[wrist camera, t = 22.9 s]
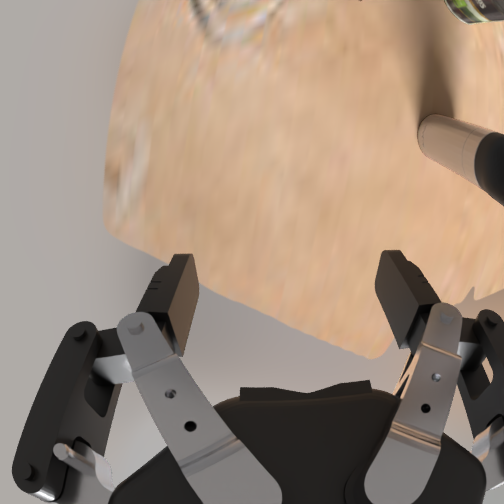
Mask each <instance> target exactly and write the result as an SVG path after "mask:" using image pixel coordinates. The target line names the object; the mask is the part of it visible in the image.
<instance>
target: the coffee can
mask: <svg viewBox="0 0 504 504" xmlns="http://www.w3.org/2000/svg"><path fill="white" fill-rule="evenodd" d="M444 1H445V3H446V5H447V7H448V8H449V10H450V11H451V12H452V13H453V15H454V16H455V17H456V18H458V19H459V20H460V21H462V22H464V23H466V24H469V25H472V24H477V23H487V22H499V21H504V0H444Z"/></svg>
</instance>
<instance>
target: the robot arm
mask: <svg viewBox="0 0 504 504" xmlns="http://www.w3.org/2000/svg"><path fill="white" fill-rule="evenodd" d="M418 142H419V146H420V149H421V150H422V152H423V153H424V154H425V156H427V157H428V158H429V159H431V160H433V161H435V162H437V163H439V164H440V165H442V166H444V167H446V168H448V169H449V170H451V171H453V172H455V173H456V174H458V175H460V176H461V177H463V178H465V179H466V180H468V181H470V182H471V183H473V184H475V185H476V186H478V187H479V188H481V189H482V190H484V191H485V192H487V193H488V194H489V195H490V196H491V197H492V198H493V199H495V200H496V201H498V202H499V203H500V204H501V205H503V206H504V135H503V134H501V133H498V132H495V131H492V130H490V129H487V128H483V127H480V126H477V125H474V124H471V123H468V122H464V121H461V120H457V119H454V118H450V117H446V116H442V115H438V114H432V115H429V116H428V117H426V118H425V119H424V120H423V121H422V123H421V124H420V127H419V130H418ZM375 291H376V294H377V297H378V299H379V301H380V303H381V306H382V308H383V310H384V312H385V315H386V317H387V319H388V322H389V324H390V327H391V329H392V332H393V334H394V336H395V339H396V341H397V344H398V347H399V349H404V348H410V350H411V352H410V354H409V356H408V358H407V361H406V363H405V366H404V368H403V371H402V373H401V376H400V378H399V380H398V383H397V385H396V387H395V389H394V391H393V393H392V394H390V393H388V392H385V391H381V390H377V389H372V388H371V384H370V380H365V381H358V382H349V383H340V384H337V385H334V386H331V387H328V388H325V389H321V390H318V391H315V392H311V393H301V392H296V391H289V390H284V389H279V388H274V387H268V388H267V387H266V388H249V387H248V388H247V387H241V388H240V396H238V397H234V398H231V399H227V400H225V401H222V402H220V403H218V404H216V405H214V406H213V407H212V405H211V404H210V402H209V401H208V400H207V398H206V397H205V395H204V394H203V393H202V391H201V390H200V388H199V387H198V385H197V384H196V383H195V381H194V379H193V378H192V376H191V375H190V373H189V372H188V370H187V369H186V368H185V366H184V364H183V363H182V361H181V360H180V358H179V356H180V357H183V354H184V350H185V346H186V342H187V339H188V335H189V331H190V327H191V323H192V319H193V315H194V312H195V308H196V305H197V301H198V297H199V283H198V277H197V272H196V267H195V261H194V257H193V254H174V256H173V258H172V260H171V262H170V264H169V266H162V267H161V268H160V269H159V270H158V271H157V272H155V274H154V276H153V278H152V280H151V283H150V284H149V286H148V288H147V290H146V292H145V294H144V296H143V298H142V300H141V302H140V304H139V306H138V308H137V310H136V312H135V313H131V314H129V315H127V316H125V317H124V318H123V319H122V320H121V321H120V322H119V324H118V326H117V328H113V329H107V330H102V331H98V330H97V328H96V326H95V325H94V324H93V323H91V322H88V321H83V322H79V323H76V324H75V325H73V326H72V327H70V328H69V329H68V331H67V332H66V334H65V336H64V338H63V340H62V341H61V344H60V345H59V347H58V349H57V351H56V353H55V355H54V357H53V360H52V362H51V364H50V366H49V368H48V370H47V372H46V374H45V377H44V379H43V381H42V383H41V386H40V388H39V391H38V393H37V395H36V398H35V400H34V402H33V405H32V407H31V410H30V413H29V416H28V418H27V421H26V423H25V426H24V429H23V432H22V435H21V438H20V441H19V444H18V447H17V451H16V454H15V457H14V461H13V465H12V475H13V478H14V481H15V483H16V484H17V486H18V487H19V488H20V489H21V490H22V491H24V492H26V493H28V494H30V495H33V496H35V497H37V498H39V499H40V500H42V501H44V502H46V503H49V504H482V502H483V499H484V495H485V492H486V491H488V490H490V489H495V488H497V487H499V486H501V485H503V484H504V322H503V320H502V319H501V317H500V316H499V315H498V314H497V313H495V312H494V311H491V310H487V309H485V310H482V311H480V313H479V314H478V316H477V318H476V319H470V318H463V317H462V315H461V313H460V312H459V310H458V309H457V308H455V307H454V306H452V305H450V304H448V303H442V302H441V301H440V299H439V297H438V296H437V294H436V293H435V291H434V290H433V288H432V287H431V285H430V284H429V283H428V281H427V279H426V278H425V277H424V275H423V273H422V272H421V270H420V269H419V267H417V266H416V265H415V264H413V263H412V262H411V261H407V259H406V258H405V256H404V255H403V253H402V252H401V251H400V250H384V251H383V252H382V254H381V258H380V262H379V266H378V271H377V275H376V279H375ZM486 357H487V359H488V361H489V363H490V366H491V368H492V370H493V380H492V382H491V384H490V382H489V379H488V377H487V375H486V372H485V370H484V368H483V365H482V362H483V361H484V360H485V358H486ZM132 381H135V383H136V385H137V387H138V389H139V392H140V394H141V396H142V398H143V400H144V402H145V404H146V406H147V408H148V410H149V412H150V414H151V416H152V418H153V420H154V422H155V424H156V426H157V428H158V430H159V431H160V433H161V435H162V437H163V438H164V440H165V442H166V444H167V447H165V448H164V449H163V450H162V451H161V452H159V453H158V454H157V455H156V456H154V457H153V458H152V459H151V460H150V461H148V462H147V463H146V464H145V465H143V466H142V467H141V468H140V469H138V470H137V471H136V472H135V473H133V474H132V475H131V476H129V477H128V478H127V479H125V480H124V481H123V482H121V483H120V484H119V485H118V486H117V487H116V488H115V487H114V486H113V483H112V471H111V466H110V464H109V463H108V461H107V460H106V459H105V458H104V453H105V449H106V445H107V440H108V436H109V432H110V428H111V424H112V420H113V416H114V412H115V408H116V405H117V401H118V397H119V394H120V390H121V387H122V383H125V382H132ZM456 385H458V388H459V391H460V394H461V397H462V400H463V403H464V406H465V410H466V413H467V416H468V419H469V423H470V427H471V430H472V434H473V438H474V441H473V444H472V450H471V451H470V452H469V451H467V450H466V449H465V448H463V447H462V446H460V445H459V444H458V443H457V442H456V441H454V440H453V439H452V438H450V437H449V436H447V435H446V434H445V433H444V432H443V430H444V427H445V424H446V421H447V418H448V415H449V411H450V407H451V404H452V401H453V397H454V393H455V389H456Z"/></svg>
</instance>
